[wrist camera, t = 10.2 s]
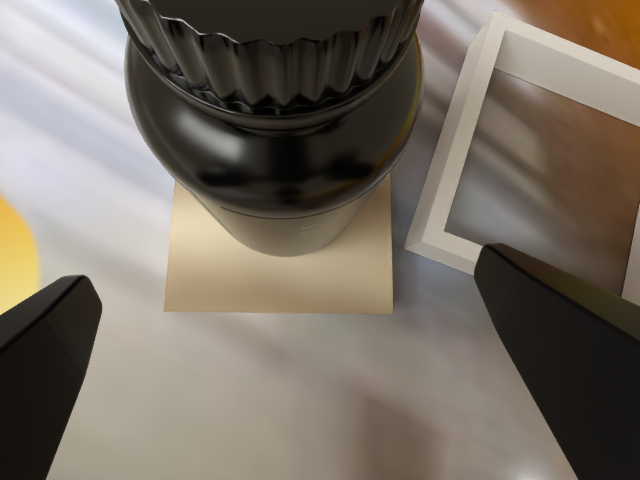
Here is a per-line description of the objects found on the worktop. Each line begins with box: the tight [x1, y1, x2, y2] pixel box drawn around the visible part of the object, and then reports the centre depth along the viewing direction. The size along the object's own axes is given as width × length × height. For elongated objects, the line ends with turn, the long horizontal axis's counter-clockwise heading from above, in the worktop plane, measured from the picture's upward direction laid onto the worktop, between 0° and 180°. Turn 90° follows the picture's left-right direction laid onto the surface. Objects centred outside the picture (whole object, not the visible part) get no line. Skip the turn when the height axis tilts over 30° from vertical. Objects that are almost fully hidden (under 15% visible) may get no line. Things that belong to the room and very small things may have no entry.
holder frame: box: [403, 10, 640, 306], centre depth 17 cm, size 13×13×2 cm
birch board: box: [164, 172, 393, 314], centre depth 17 cm, size 12×10×1 cm
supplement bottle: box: [115, 0, 424, 257], centre depth 10 cm, size 7×7×12 cm
